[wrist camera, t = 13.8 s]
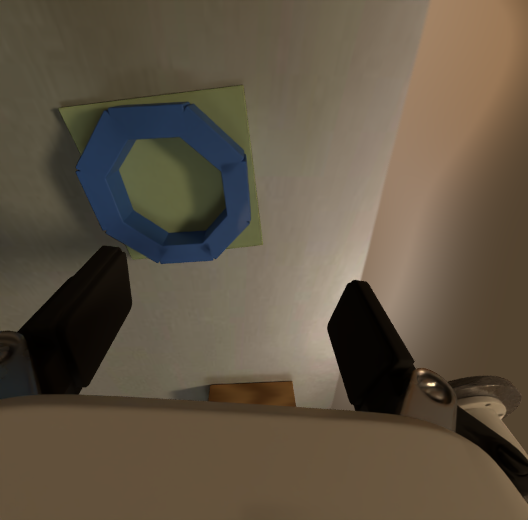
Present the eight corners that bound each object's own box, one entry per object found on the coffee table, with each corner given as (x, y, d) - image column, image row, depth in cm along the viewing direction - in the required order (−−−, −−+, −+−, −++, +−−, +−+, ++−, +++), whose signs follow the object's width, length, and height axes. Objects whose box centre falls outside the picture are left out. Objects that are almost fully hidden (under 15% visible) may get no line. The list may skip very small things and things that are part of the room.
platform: (292, 381, 34) (296, 412, 31) (287, 418, 41) (290, 447, 37) (210, 384, 34) (206, 417, 30) (218, 422, 40) (215, 452, 37)
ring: (278, 181, 18) (281, 191, 16) (196, 268, 22) (192, 283, 20) (144, 57, 14) (130, 54, 12) (73, 193, 18) (56, 205, 16)
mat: (262, 242, 21) (262, 245, 21) (134, 256, 22) (132, 260, 21) (243, 84, 15) (243, 84, 15) (62, 107, 15) (57, 108, 15)
